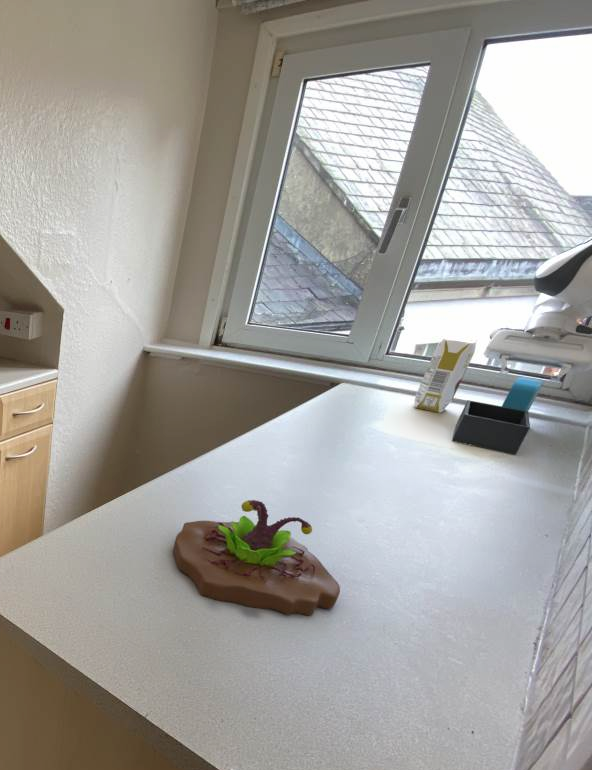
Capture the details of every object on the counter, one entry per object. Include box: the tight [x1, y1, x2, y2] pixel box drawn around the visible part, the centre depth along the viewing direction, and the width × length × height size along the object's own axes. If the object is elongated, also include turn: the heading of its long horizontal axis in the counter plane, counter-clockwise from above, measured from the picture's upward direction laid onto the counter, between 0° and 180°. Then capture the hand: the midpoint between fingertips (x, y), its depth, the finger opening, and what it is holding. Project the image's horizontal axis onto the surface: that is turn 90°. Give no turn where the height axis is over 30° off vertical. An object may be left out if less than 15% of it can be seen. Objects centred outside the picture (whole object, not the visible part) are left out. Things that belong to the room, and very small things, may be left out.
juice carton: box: [413, 335, 477, 414], centre depth 148 cm, size 8×9×19 cm
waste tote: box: [451, 400, 531, 456], centre depth 130 cm, size 11×16×7 cm
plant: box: [172, 499, 341, 616], centre depth 76 cm, size 20×20×11 cm
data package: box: [501, 376, 545, 412], centre depth 138 cm, size 12×4×12 cm, turn 130°
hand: (528, 376), depth 140 cm, fingers open, 8 cm apart
